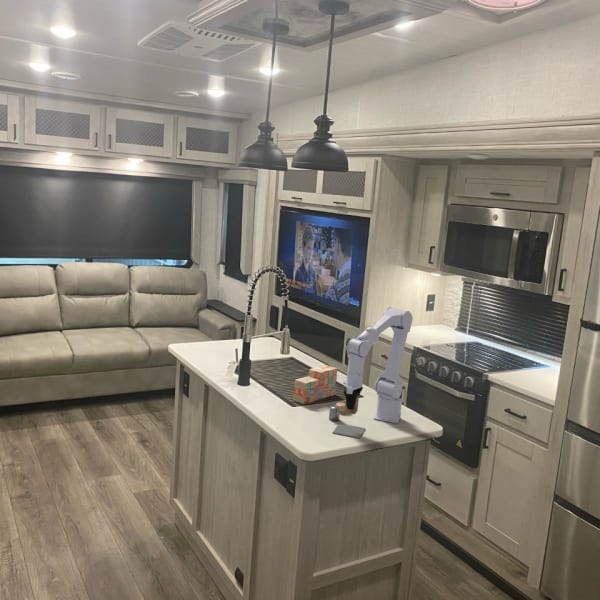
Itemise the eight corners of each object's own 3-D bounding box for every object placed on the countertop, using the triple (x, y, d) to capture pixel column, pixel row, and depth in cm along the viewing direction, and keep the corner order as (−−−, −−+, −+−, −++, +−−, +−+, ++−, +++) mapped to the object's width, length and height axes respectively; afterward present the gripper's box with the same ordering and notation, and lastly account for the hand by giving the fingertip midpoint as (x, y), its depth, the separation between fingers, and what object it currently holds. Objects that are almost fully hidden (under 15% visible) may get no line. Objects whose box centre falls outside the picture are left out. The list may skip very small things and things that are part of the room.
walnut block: (357, 410, 223) (359, 395, 222) (355, 414, 219) (356, 398, 218) (346, 409, 224) (348, 393, 223) (344, 412, 220) (346, 396, 219)
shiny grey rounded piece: (340, 418, 234) (341, 406, 233) (337, 422, 230) (339, 409, 229) (330, 417, 235) (331, 404, 234) (327, 420, 231) (328, 408, 230)
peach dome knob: (348, 410, 244) (349, 403, 243) (346, 414, 239) (346, 407, 239) (337, 408, 245) (337, 401, 245) (334, 412, 241) (334, 405, 240)
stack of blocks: (304, 405, 247) (306, 376, 245) (292, 400, 251) (295, 372, 249) (335, 394, 263) (337, 367, 261) (324, 391, 267) (326, 364, 265)
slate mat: (365, 429, 225) (365, 428, 225) (359, 438, 216) (359, 437, 215) (339, 424, 228) (339, 423, 228) (332, 433, 218) (332, 432, 218)
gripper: (349, 365, 227) (345, 399, 229) (339, 374, 213) (336, 411, 215) (367, 368, 225) (363, 403, 227) (359, 378, 211) (355, 414, 213)
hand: (351, 407), depth 221 cm, fingers closed on walnut block, 4 cm apart
